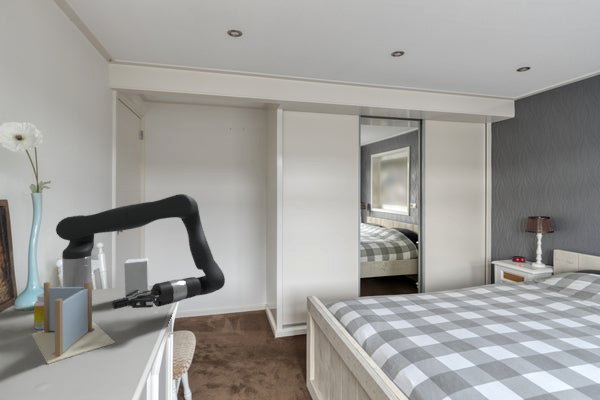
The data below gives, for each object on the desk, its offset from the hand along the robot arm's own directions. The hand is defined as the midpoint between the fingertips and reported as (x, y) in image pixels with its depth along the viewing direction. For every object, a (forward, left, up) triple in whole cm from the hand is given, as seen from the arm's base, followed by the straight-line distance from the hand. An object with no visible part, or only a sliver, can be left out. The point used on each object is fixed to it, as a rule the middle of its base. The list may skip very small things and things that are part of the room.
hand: (113, 305), depth 93 cm
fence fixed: (-13, -8, -9) cm, 18 cm away
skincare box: (-29, +18, -10) cm, 35 cm away
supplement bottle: (-23, -12, -10) cm, 28 cm away
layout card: (-7, -9, -9) cm, 14 cm away
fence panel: (-2, -10, -9) cm, 13 cm away
